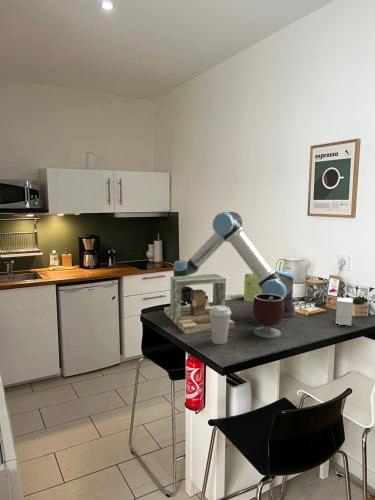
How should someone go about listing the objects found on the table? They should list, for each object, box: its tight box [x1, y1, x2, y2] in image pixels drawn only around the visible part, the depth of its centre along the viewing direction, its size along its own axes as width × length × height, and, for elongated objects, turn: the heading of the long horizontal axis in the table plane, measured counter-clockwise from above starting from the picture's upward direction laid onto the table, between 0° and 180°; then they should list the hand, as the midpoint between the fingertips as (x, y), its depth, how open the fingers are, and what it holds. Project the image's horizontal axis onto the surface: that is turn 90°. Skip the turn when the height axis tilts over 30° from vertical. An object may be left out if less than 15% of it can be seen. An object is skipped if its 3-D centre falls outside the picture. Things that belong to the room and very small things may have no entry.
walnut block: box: [189, 289, 207, 316], centre depth 196 cm, size 6×6×12 cm
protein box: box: [243, 272, 262, 303], centre depth 237 cm, size 10×15×16 cm
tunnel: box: [163, 273, 236, 335], centre depth 195 cm, size 34×25×22 cm
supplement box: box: [335, 297, 354, 327], centre depth 194 cm, size 7×7×13 cm
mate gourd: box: [252, 294, 284, 339], centre depth 178 cm, size 16×14×20 cm
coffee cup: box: [209, 305, 232, 345], centre depth 167 cm, size 10×10×15 cm
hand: (201, 303), depth 191 cm, fingers closed on walnut block, 6 cm apart
